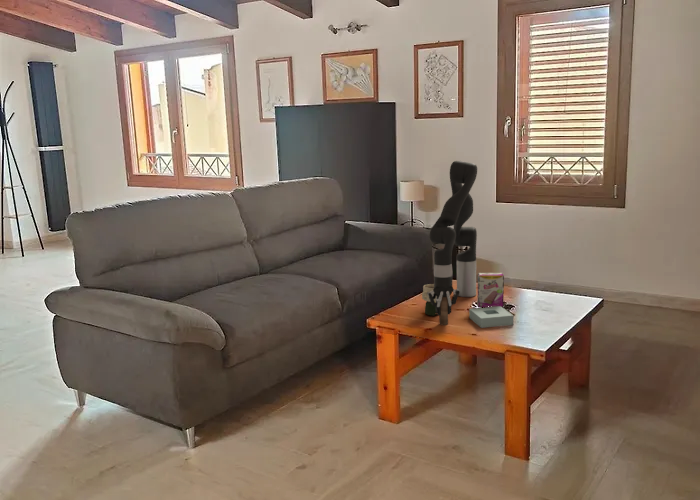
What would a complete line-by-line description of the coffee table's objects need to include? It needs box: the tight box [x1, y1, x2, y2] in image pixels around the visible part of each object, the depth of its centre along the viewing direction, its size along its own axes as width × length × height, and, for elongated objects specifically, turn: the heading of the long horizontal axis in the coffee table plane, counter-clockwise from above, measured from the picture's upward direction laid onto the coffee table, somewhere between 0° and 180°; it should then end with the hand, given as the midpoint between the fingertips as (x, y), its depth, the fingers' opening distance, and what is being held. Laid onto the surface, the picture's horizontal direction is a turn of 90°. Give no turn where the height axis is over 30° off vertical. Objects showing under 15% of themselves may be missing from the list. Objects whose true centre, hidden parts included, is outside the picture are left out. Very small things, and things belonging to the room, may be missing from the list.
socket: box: [468, 306, 515, 329], centre depth 274 cm, size 14×14×4 cm
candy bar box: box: [476, 272, 505, 308], centre depth 290 cm, size 11×5×16 cm, turn 84°
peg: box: [438, 297, 449, 326], centre depth 272 cm, size 4×4×12 cm
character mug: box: [421, 283, 437, 316], centre depth 286 cm, size 11×7×13 cm, turn 127°
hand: (443, 314), depth 273 cm, fingers closed on peg, 3 cm apart
